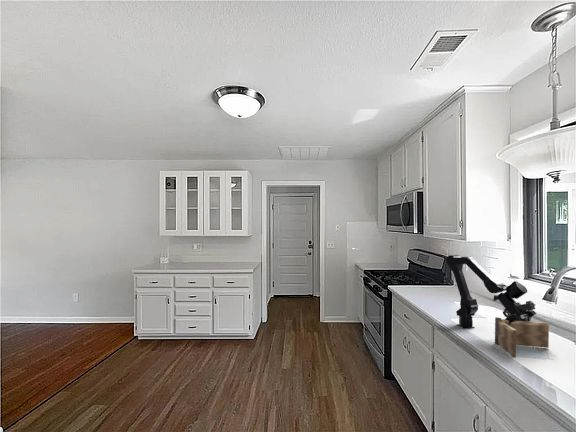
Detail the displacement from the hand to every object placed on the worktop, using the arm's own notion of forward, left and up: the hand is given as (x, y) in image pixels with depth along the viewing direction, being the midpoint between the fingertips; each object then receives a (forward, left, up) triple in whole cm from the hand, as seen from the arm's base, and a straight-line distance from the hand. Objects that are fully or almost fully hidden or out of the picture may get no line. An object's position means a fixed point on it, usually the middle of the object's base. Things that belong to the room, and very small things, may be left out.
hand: (534, 333), depth 159 cm
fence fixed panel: (+2, -17, -6) cm, 18 cm away
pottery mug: (-36, +25, -6) cm, 44 cm away
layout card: (+3, -11, -6) cm, 13 cm away
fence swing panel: (-1, -5, -5) cm, 7 cm away
